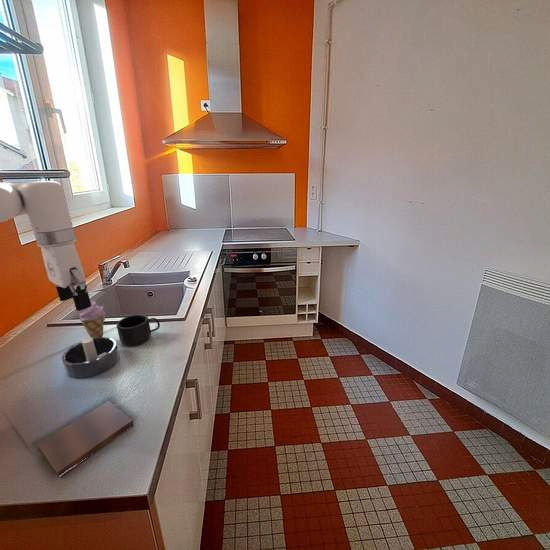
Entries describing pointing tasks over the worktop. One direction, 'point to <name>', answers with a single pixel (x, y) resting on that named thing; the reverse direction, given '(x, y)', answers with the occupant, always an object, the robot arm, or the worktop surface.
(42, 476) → the worktop surface
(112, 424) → the cutting board
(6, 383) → the worktop surface
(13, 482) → the worktop surface
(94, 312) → the ice cream cone
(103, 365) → the round grey bowl
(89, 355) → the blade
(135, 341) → the mug
